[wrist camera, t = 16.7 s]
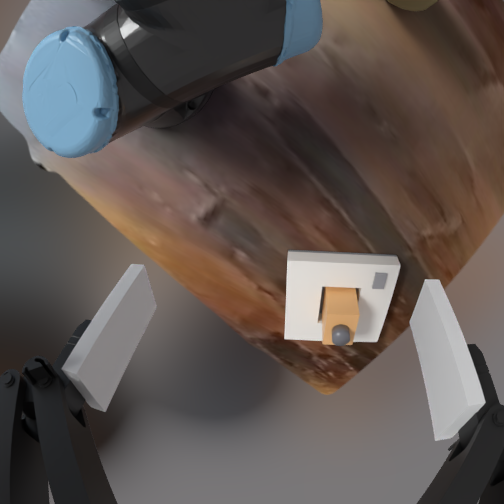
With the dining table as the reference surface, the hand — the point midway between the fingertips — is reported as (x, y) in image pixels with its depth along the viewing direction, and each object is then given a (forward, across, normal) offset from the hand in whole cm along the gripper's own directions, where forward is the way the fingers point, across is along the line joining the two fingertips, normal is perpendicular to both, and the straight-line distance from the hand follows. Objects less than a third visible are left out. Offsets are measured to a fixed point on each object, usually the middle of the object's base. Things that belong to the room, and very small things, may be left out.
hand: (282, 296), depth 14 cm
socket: (+32, +8, -27) cm, 42 cm away
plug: (+31, +8, -27) cm, 42 cm away
